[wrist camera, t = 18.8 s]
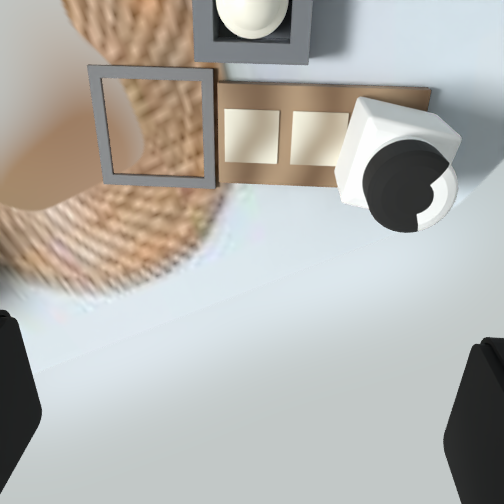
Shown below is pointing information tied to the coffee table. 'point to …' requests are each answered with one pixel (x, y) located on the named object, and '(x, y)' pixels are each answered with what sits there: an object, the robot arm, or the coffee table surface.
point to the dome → (252, 16)
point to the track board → (292, 128)
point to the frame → (159, 74)
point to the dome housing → (251, 50)
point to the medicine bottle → (398, 165)
